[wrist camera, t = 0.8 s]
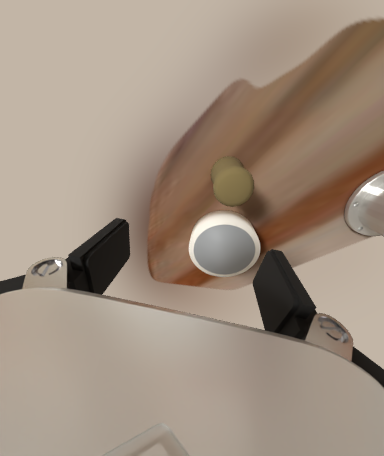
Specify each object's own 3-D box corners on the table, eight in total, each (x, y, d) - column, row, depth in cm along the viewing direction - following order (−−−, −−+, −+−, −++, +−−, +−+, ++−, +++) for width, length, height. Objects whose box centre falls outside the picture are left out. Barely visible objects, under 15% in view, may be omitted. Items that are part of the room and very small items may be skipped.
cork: (250, 162, 28) (270, 173, 18) (236, 194, 31) (247, 218, 21) (217, 151, 28) (219, 157, 18) (206, 185, 30) (203, 205, 21)
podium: (260, 210, 32) (267, 221, 27) (249, 264, 38) (254, 280, 34) (190, 209, 33) (187, 219, 29) (192, 261, 40) (189, 275, 36)
